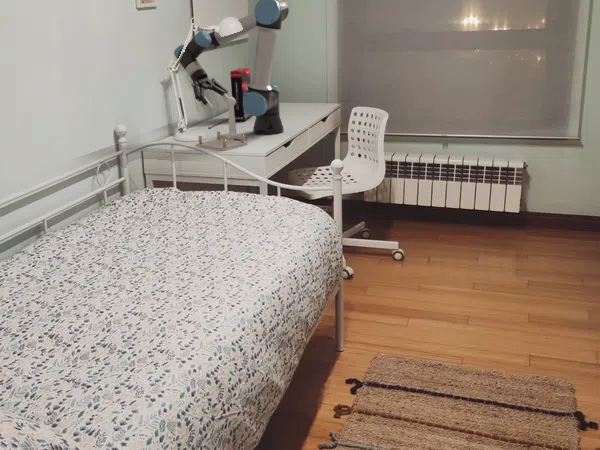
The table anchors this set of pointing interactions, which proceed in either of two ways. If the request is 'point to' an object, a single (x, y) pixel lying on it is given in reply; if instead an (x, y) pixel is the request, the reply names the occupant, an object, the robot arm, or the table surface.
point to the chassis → (221, 143)
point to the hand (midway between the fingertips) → (221, 107)
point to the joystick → (231, 122)
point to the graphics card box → (240, 92)
